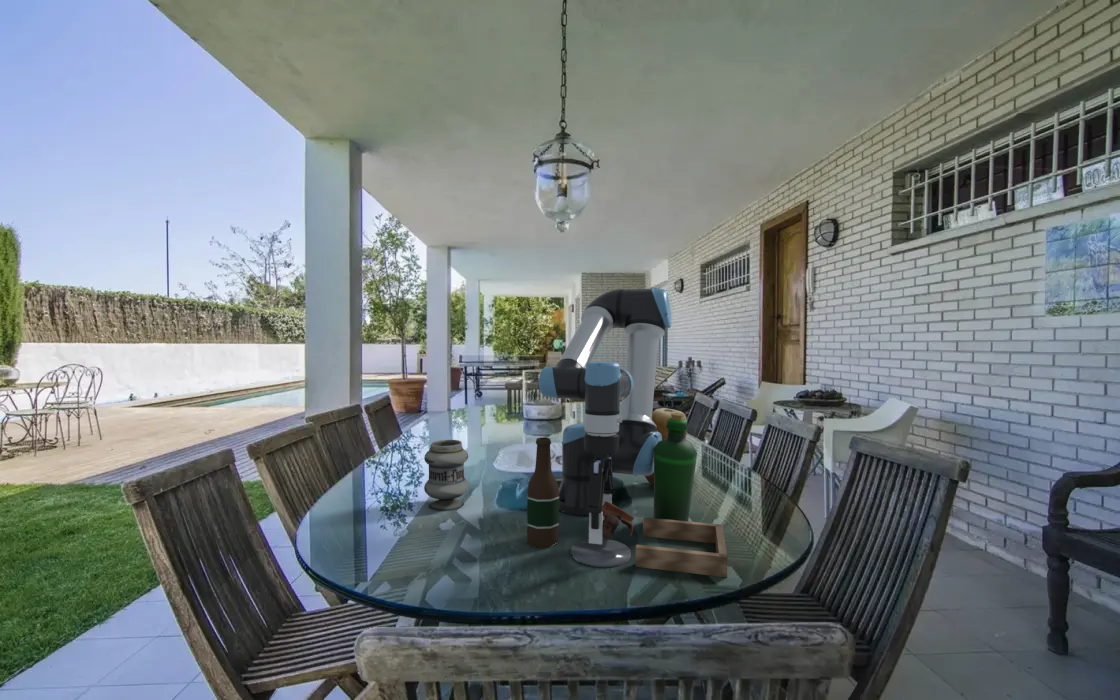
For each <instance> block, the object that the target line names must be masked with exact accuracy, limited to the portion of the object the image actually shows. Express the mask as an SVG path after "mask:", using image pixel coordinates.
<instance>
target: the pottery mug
mask: <svg viewBox="0 0 1120 700" xmlns="http://www.w3.org/2000/svg"><path fill="white" fill-rule="evenodd" d="M602 512H603V516H604V520H603V532H602V539H609V540H613V537H614V535H615V531H616V530H617V529H618V526H619V525H620V522H621V523H622V524H624V525H625V526H627V527H628V529H629V534H628V538H631V537H632V535H633V530H634V525H633V521H634V518H635V517H634V516H633V515H631V514H630V513H628V512H627V511H625V510H623V509H621V508H620V507H618V506H616V505H615V504H613V503H612V504H611V503H609V502H607V501H605V503H604V505H603V506H602ZM586 534H587V535H588V536H589V523H588V525H587V530H586Z"/></svg>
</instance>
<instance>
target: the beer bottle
mask: <svg viewBox="0 0 1120 700" xmlns="http://www.w3.org/2000/svg"><path fill="white" fill-rule="evenodd" d="M535 444H536V452H535V453H536V454H535V468H534V472H533V474H532V475H531V477H530V478H529V481H528V485H527V493H526V494H527V495H526V496H527V497H526V499H527V500H526V501H527V502H526V503H527V505H526V506H527V507H526V513H527V514H526V534H527V536H526V537H527V544H528V545H529V544H531V545H530V546H532V545H533V546H532V547H534V546H536V547H535V548H537V547H543V548H551V547H550V546H552V545H553V544H555V543H557V542H558V543H559V539H560V511H559V484H558V482H557V478H556V477H555V475H554V473H553V469H552V457H551V456H552V455H551V445H552V440H551V438H550V437H547V436H544V437H542V436H541V437H537V438H536V441H535ZM552 547H553V546H552Z"/></svg>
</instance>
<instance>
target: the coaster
mask: <svg viewBox="0 0 1120 700" xmlns="http://www.w3.org/2000/svg"><path fill="white" fill-rule="evenodd" d="M631 551H632V550H631V548H630V547H628V545H626V544H625V543H622V542H620V541H617V540H613V539H604V538H602V545H601V544H592V543H589V538H588V539H584V540H580V541H577V542H575V543H574V544H572V546H571V548H570V555H571V554H572V555H573V557H574V558H576V559H577V560H578V561H580V562H581V563H580V564H582V563H583V564H582V565H584V564H586V565H585V566H588V565H590V566H589V567H593V566H594V567H595V568H611V567H619V566H621V565H624V564H627V562H628V561H630V559H631V557H632V556H631V554H632V552H631ZM573 557H572V558H573Z"/></svg>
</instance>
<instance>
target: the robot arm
mask: <svg viewBox="0 0 1120 700" xmlns="http://www.w3.org/2000/svg"><path fill="white" fill-rule="evenodd" d="M670 303H671V302H670V298H669V295H668V292H667V290H665V289H664V288H653V287H650V288H631V289H630V288H629V289H628V288H627V289H625V288H623V289H621V288H619V289H618V288H617V289H616V288H615V289H611V290H609V291H607V292H604V293H602V294H600V295H599V296H597V297H596V298H595V299H593V300H592V301H591V302H590V303H589V304H588V305H587V306H585V309H584V311H583V312H582V314H581V316H580V317H581V320H580V321H581V322H580V324H579V326H578V327H577V329H576V331H575V333H574V335H573V337H572V338H571V339H570V342H569V343H568V345H567V346H566V348H565V350H564V352H563V353H562V356H561V357H560V359H559V360H558V362H557V363H556V365H555V366H545V367H543V368H542V369H541V370H540V373H539V377H538V387H539V391H540V392H539V393H540V394H541V395H542V396H544V397H545V398H547V397H548V398H554V399H557V400H558V399H566V400H567V399H568V400H570V399H572V400H584V409H585V410H584V422H580V423H574V424H573V423H572V424H570V425H568V426H566V427H565V428H564V429H563V431H562V442H561V445H562V447H561V448H562V449H561V450H562V455H561V458H562V459H561V460H562V466H561V467H562V469H561V474H562V475H561V482H560V484H559V486H558V488H559V510H561V511H564V512H566V513H565V514H567V513H570V514H569V515H572V514H578V515H577V516H584V515H586V516H588V524H589V535H588V539H589V543H592V544H601V545H602V539H603V537H602V532H603V520H604V516H603V512H602V506H603V505H604V503H605V501H607V502H609V503H611V504H613V499H612V497H613V495H615V493H616V488H614V480H613V479H614V477H613V474H623V475H631V476H634V477H635V476H636V477H638V476H642V477H645V476H649V475H651V474H653V473H654V447H655V446H656V444H657V443H658V442H659V441H661V440H662V435H661V434H660V433H659V432H656V429H657V426H656V425H655V423H654V422H653V421H652V412H653V408H654V407H653V406H654V394H655V384H656V373H657V362H658V361H657V360H658V353H659V350H658V349H659V340H660V339H661V338H663V337H664V336H665V331H666V330H668V329H671V327H672V311H671V310H672V309H671V304H670ZM613 329H623V330H624V334H625V335H626V336H627V337H628V340H627V342H628V343H627V349H626V359H625V369H624V368H621V366H620V363H618V362H615V361H593V360H594V357H595V355H596V353H597V351H598V349H599V347H600V345H601V344H602V341H603V339H604V338H605V336H606V335H607V334H608V333H609V332H611V330H613ZM620 402H621V403H620ZM620 404H621V407H620ZM561 511H560V512H561ZM564 512H563V513H564Z"/></svg>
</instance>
